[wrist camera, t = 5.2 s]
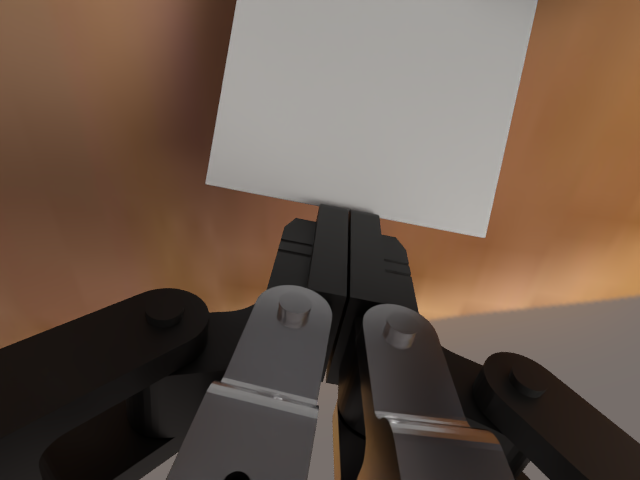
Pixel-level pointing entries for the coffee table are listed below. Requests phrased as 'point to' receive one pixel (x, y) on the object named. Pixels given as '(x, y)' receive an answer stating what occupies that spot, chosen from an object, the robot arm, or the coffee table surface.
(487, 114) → the door
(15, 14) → the coffee table surface
